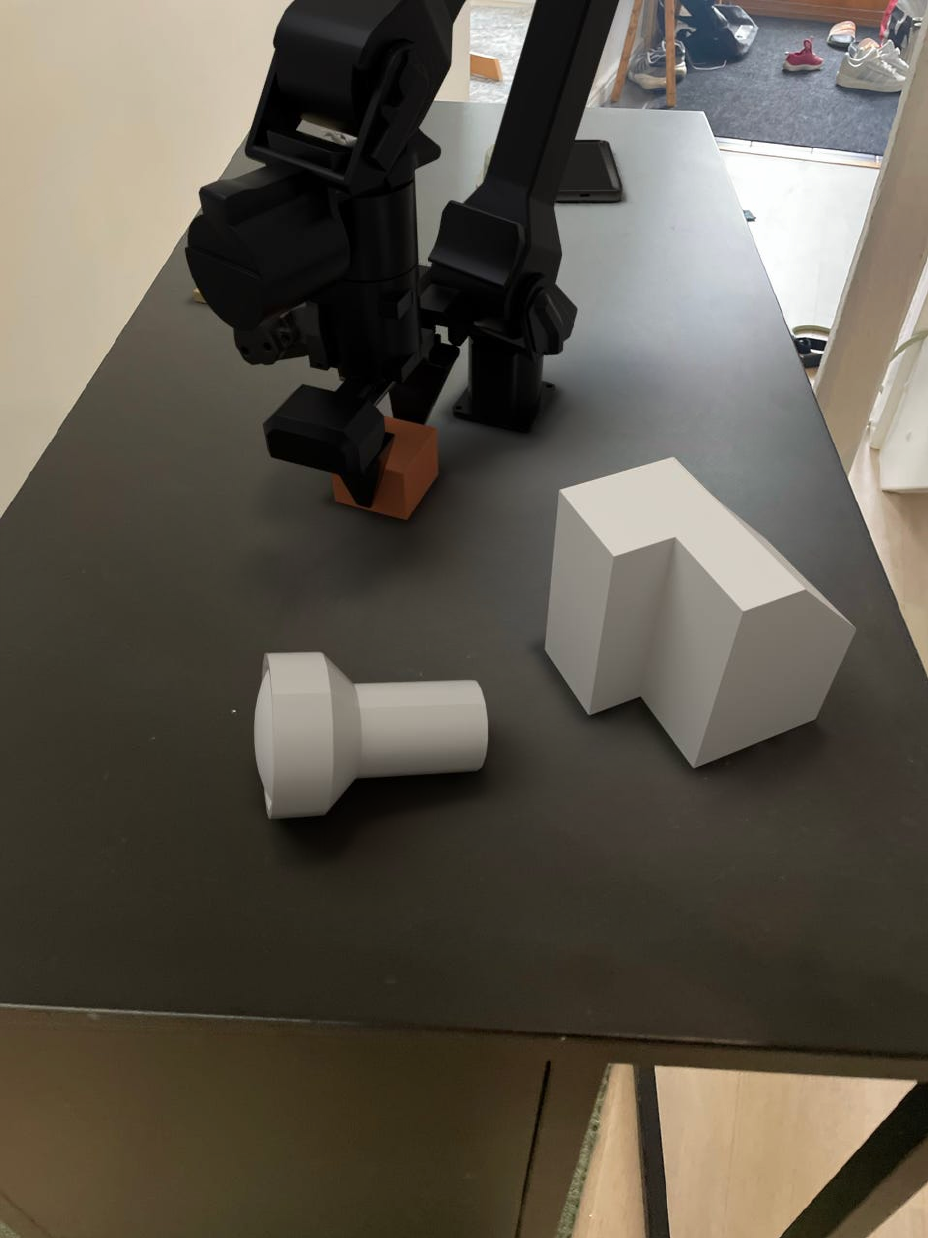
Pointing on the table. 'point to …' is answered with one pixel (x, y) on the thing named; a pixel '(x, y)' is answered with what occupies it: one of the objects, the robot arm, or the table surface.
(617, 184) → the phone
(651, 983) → the table surface
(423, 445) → the orange square block
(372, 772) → the spotlight
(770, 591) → the corner bracket
